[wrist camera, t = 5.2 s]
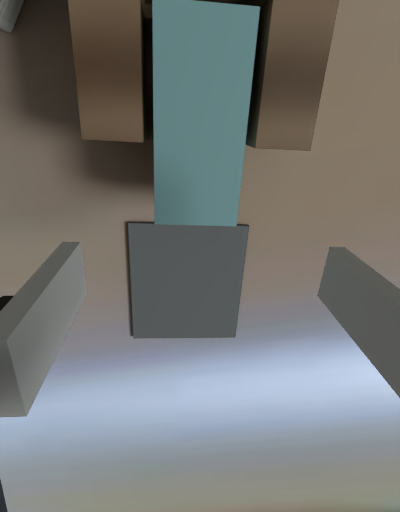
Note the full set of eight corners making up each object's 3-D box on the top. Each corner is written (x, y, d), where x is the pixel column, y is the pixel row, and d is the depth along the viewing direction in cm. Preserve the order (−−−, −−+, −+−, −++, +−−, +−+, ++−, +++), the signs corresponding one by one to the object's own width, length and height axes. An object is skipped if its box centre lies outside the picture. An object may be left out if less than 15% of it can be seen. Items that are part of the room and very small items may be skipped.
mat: (128, 221, 30) (128, 223, 30) (248, 225, 31) (249, 226, 31) (133, 336, 36) (133, 338, 35) (234, 335, 37) (235, 337, 36)
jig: (89, -130, 20) (40, -272, 13) (309, -102, 21) (380, -215, 14) (107, 133, 26) (81, 139, 19) (274, 142, 28) (310, 150, 21)
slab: (156, 18, 20) (152, -4, 17) (245, 26, 21) (260, 6, 17) (157, 209, 25) (154, 224, 22) (227, 211, 26) (236, 226, 22)
